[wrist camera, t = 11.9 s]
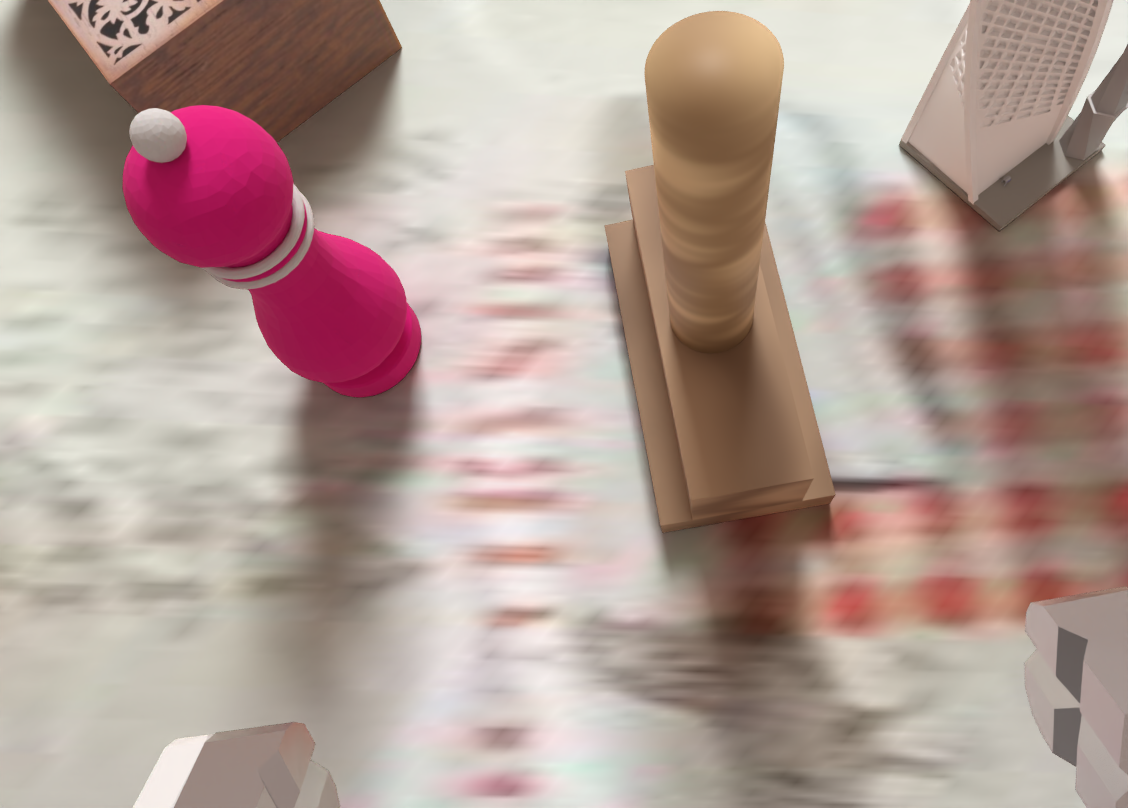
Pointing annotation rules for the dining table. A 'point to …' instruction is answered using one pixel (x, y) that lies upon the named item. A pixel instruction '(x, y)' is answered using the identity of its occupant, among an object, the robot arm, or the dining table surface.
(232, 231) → the pepper mill
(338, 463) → the dining table surface
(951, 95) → the skyscraper
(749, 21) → the dowel
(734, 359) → the stepped base
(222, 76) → the tissue box cover
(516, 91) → the dining table surface
